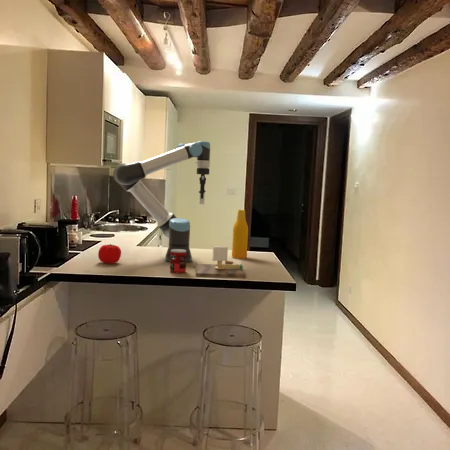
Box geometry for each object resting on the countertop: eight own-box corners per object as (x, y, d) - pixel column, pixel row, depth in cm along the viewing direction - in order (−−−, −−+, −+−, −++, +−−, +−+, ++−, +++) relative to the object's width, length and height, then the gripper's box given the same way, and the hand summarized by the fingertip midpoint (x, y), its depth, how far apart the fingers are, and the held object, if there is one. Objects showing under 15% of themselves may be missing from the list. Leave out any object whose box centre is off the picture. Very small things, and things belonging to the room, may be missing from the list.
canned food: (170, 270, 240) (170, 248, 239) (185, 270, 241) (186, 249, 239) (169, 273, 232) (170, 251, 231) (185, 273, 233) (186, 251, 232)
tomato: (98, 265, 244) (98, 245, 243) (97, 261, 255) (98, 242, 254) (121, 265, 247) (122, 245, 246) (120, 261, 258) (120, 242, 257)
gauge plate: (195, 276, 228) (195, 268, 228) (195, 266, 252) (196, 259, 251) (244, 277, 229) (245, 269, 229) (240, 267, 253) (240, 260, 253)
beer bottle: (235, 259, 279) (237, 210, 276) (229, 256, 288) (231, 209, 285) (249, 258, 283) (251, 210, 280) (243, 256, 291) (245, 209, 288)
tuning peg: (211, 267, 242) (212, 245, 241) (237, 267, 245) (238, 246, 244) (213, 269, 237) (214, 247, 236) (239, 269, 240) (240, 247, 239)
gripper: (197, 167, 292) (196, 201, 294) (196, 167, 267) (195, 204, 270) (209, 168, 293) (207, 202, 295) (209, 167, 268) (208, 205, 270)
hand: (201, 203), depth 282 cm, fingers open, 13 cm apart
